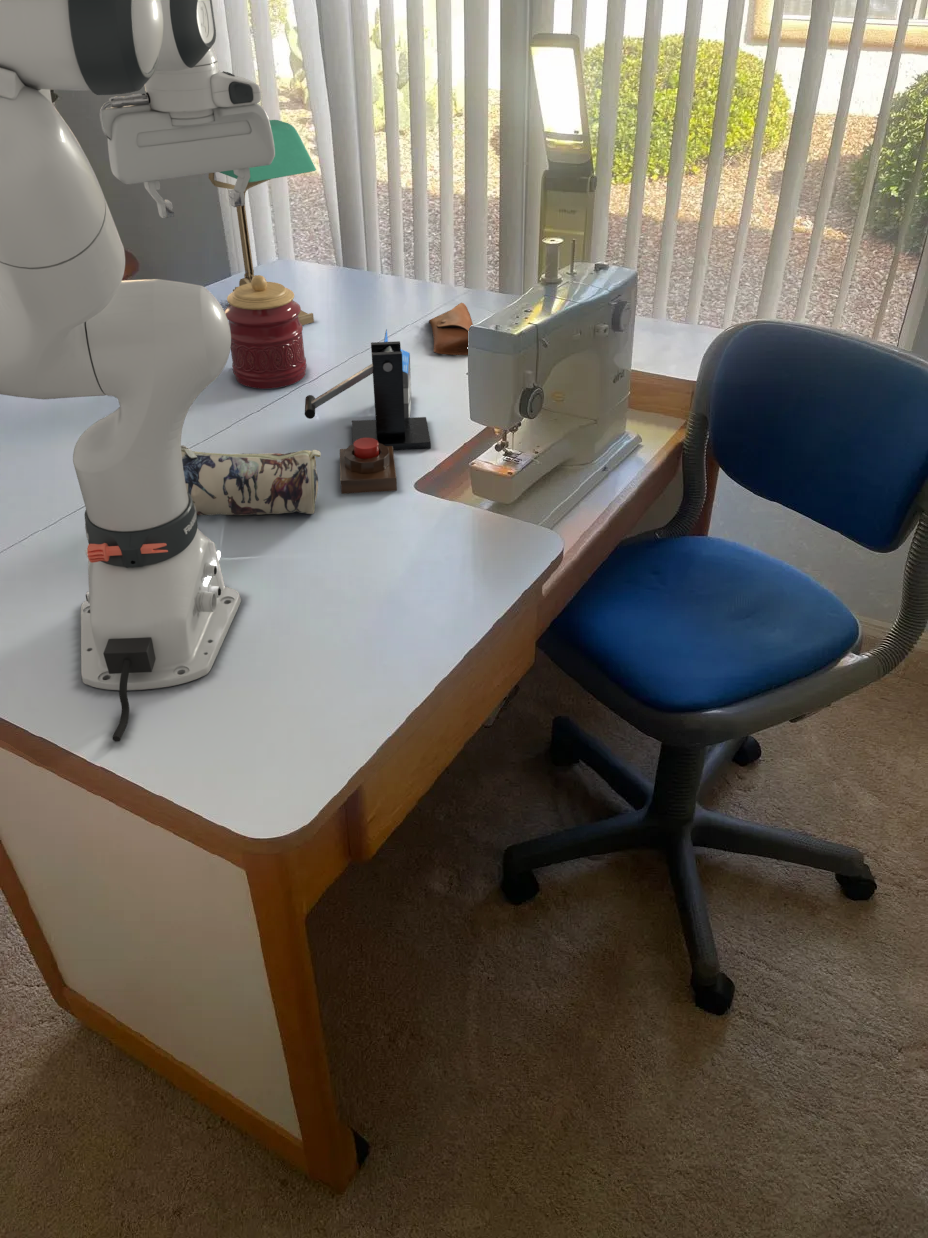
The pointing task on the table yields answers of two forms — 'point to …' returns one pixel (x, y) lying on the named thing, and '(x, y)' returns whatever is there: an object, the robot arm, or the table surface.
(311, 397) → the lever
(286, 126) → the banker's lamp
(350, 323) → the table surface
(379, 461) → the control block
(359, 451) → the button
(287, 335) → the kitchen canister
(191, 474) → the pencil case
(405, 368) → the tape cartridge
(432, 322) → the sunglasses case
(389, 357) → the bracket
